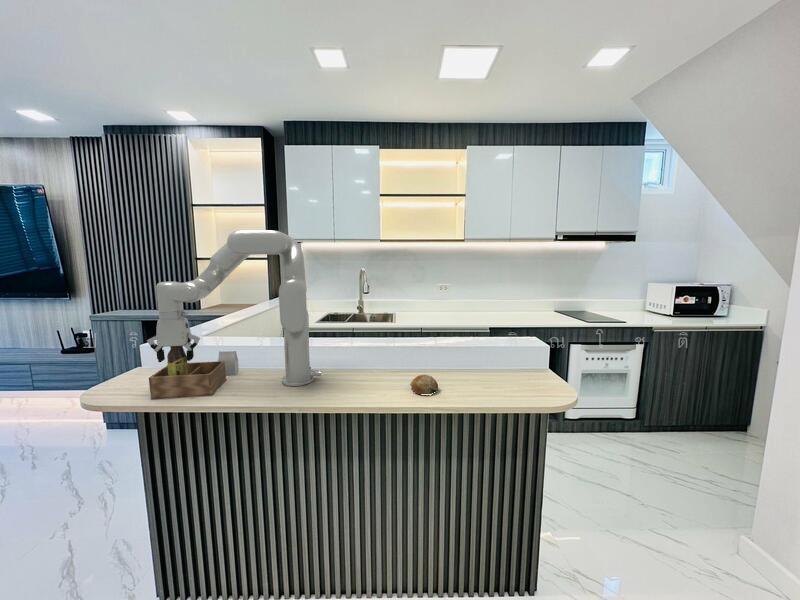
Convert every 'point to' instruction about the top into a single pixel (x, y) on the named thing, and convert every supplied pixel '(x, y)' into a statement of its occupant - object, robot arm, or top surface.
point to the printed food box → (229, 362)
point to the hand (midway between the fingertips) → (175, 360)
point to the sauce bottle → (177, 361)
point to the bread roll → (424, 384)
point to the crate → (188, 381)
